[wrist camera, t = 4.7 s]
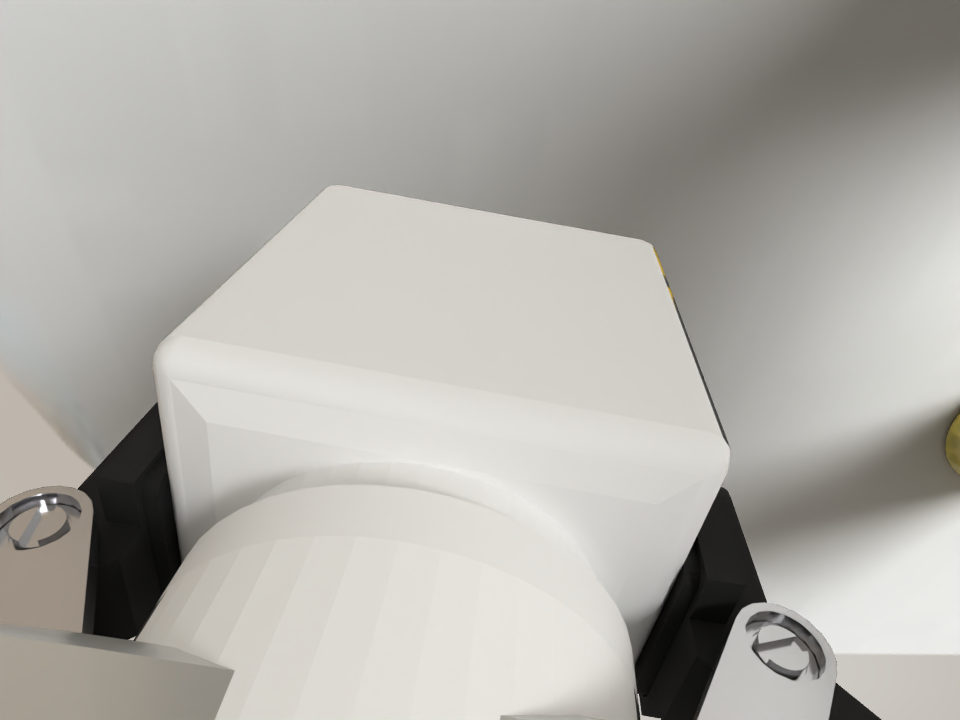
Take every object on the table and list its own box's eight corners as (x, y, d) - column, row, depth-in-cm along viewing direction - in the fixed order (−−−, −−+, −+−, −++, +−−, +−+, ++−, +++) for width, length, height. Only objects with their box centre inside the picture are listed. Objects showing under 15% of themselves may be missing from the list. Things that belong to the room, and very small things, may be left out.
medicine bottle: (579, 485, 17) (619, 1245, 7) (319, 438, 17) (-27, 1125, 7) (658, 237, 13) (1010, 1103, 3) (325, 176, 13) (-422, 838, 3)
